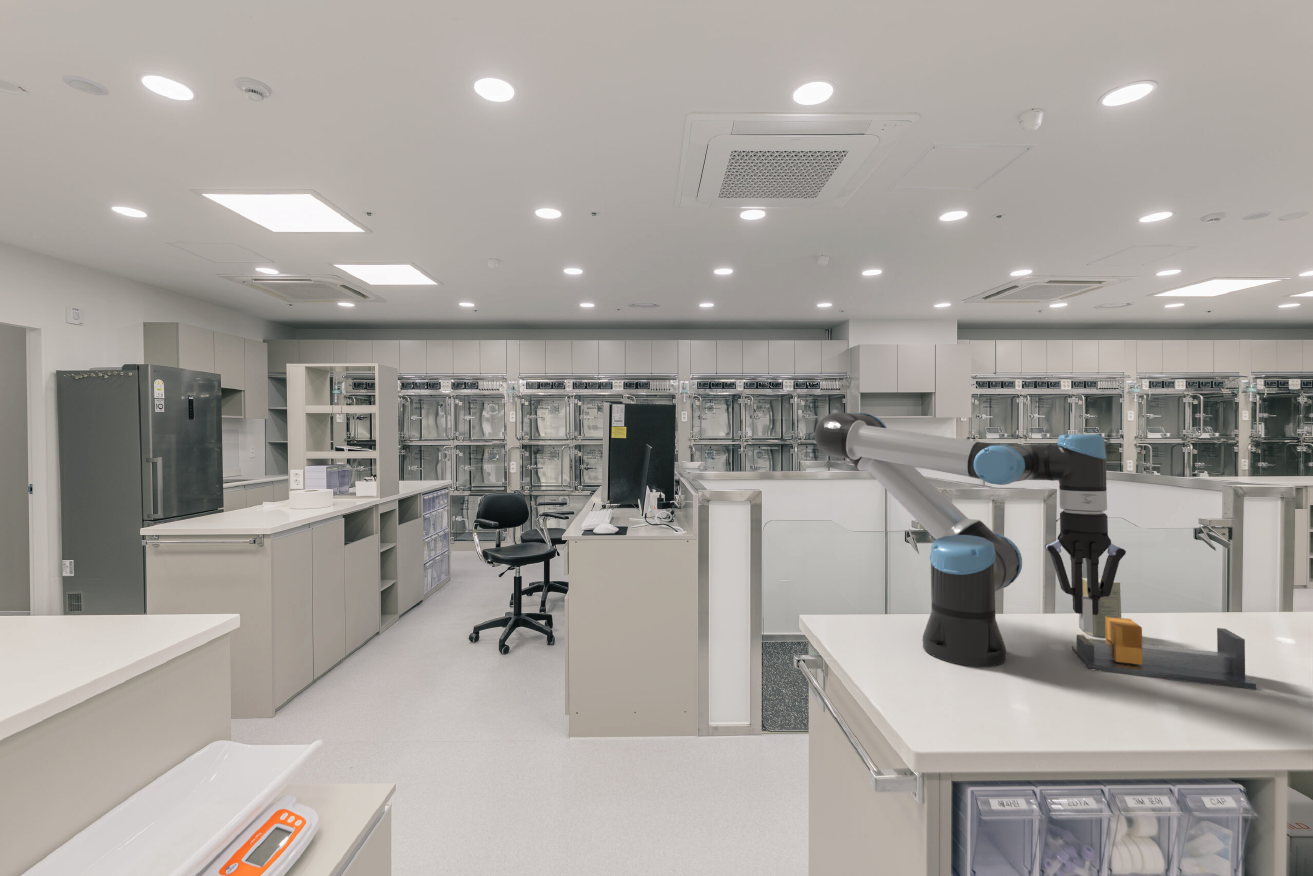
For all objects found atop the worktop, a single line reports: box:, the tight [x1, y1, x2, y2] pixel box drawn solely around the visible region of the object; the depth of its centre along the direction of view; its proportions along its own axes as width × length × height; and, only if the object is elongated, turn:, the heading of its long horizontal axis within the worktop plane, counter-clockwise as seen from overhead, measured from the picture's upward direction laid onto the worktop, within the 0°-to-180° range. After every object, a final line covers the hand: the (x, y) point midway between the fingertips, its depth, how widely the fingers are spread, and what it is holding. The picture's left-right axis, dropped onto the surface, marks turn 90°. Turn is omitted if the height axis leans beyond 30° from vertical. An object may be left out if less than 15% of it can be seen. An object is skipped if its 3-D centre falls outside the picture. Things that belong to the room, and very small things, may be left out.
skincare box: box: [1082, 577, 1122, 637], centre depth 124 cm, size 6×4×12 cm
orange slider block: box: [1104, 617, 1143, 665], centre depth 108 cm, size 4×5×7 cm
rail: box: [1071, 627, 1257, 690], centre depth 106 cm, size 24×10×8 cm, turn 68°
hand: (1086, 630), depth 110 cm, fingers closed
